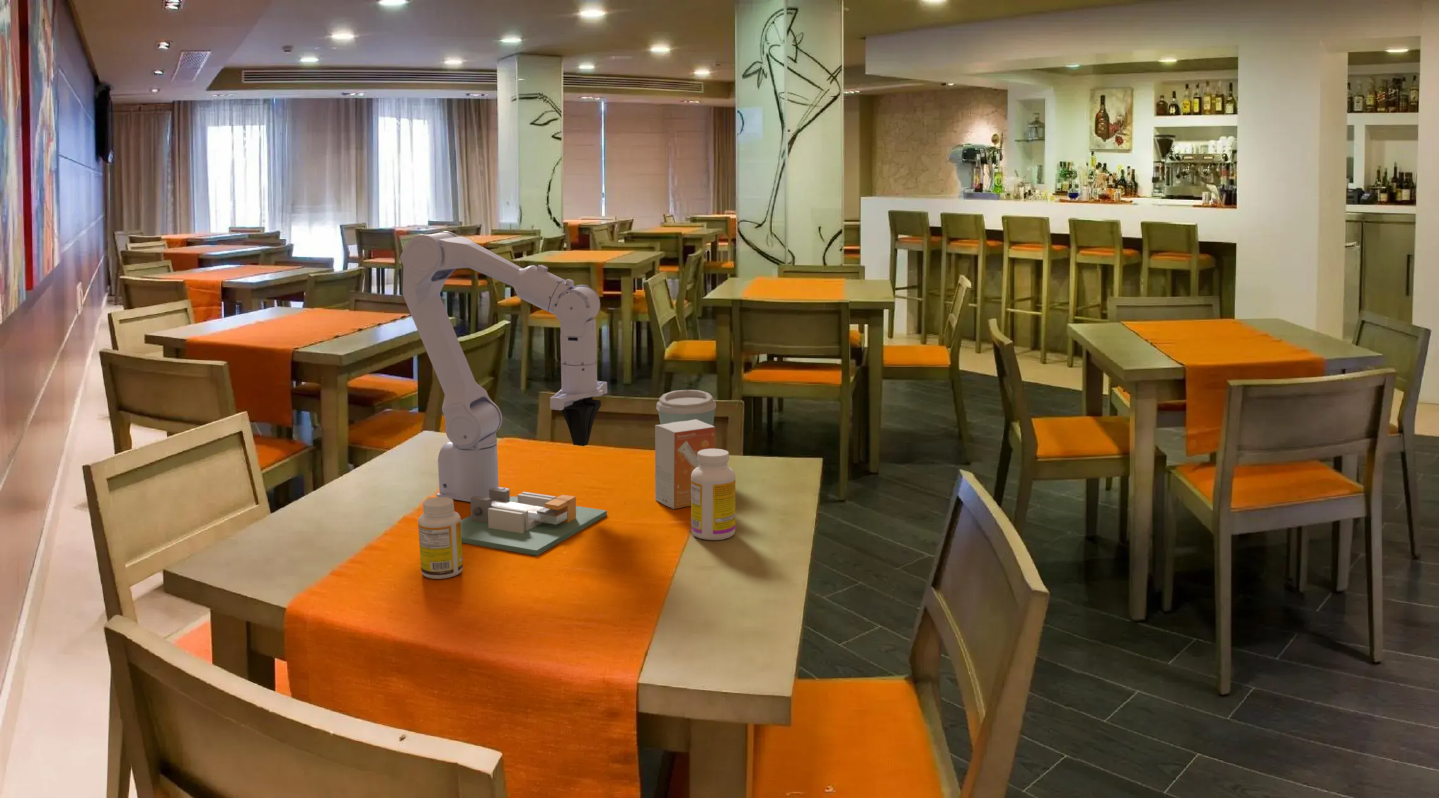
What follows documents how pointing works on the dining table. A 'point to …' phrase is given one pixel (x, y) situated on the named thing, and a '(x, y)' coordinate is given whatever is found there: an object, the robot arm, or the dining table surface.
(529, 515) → the white stepped bar
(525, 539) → the socket base
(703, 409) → the disposable coffee cup
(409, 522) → the dining table surface
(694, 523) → the supplement bottle
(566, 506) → the lug slider
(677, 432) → the small box
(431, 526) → the supplement bottle
